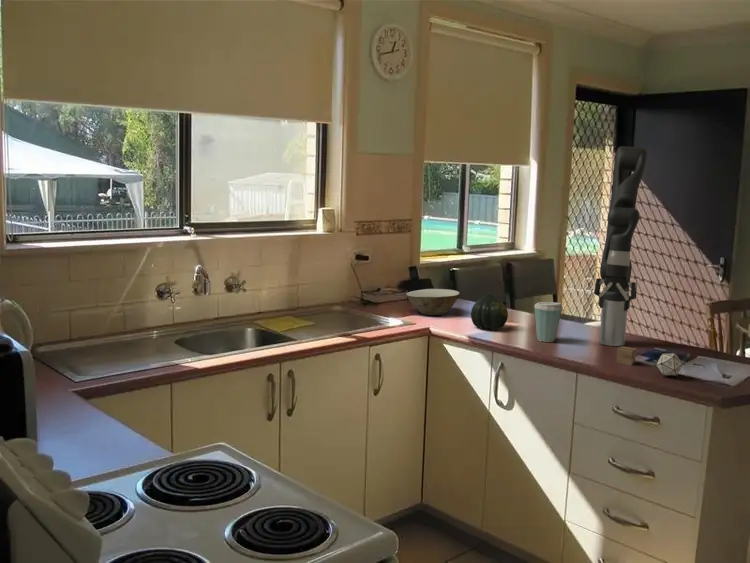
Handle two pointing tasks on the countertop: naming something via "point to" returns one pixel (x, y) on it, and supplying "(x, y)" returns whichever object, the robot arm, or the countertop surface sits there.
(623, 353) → the walnut block
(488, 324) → the squash
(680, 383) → the countertop surface
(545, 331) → the disposable coffee cup
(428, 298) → the bowl
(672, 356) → the game die
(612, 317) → the robot arm
